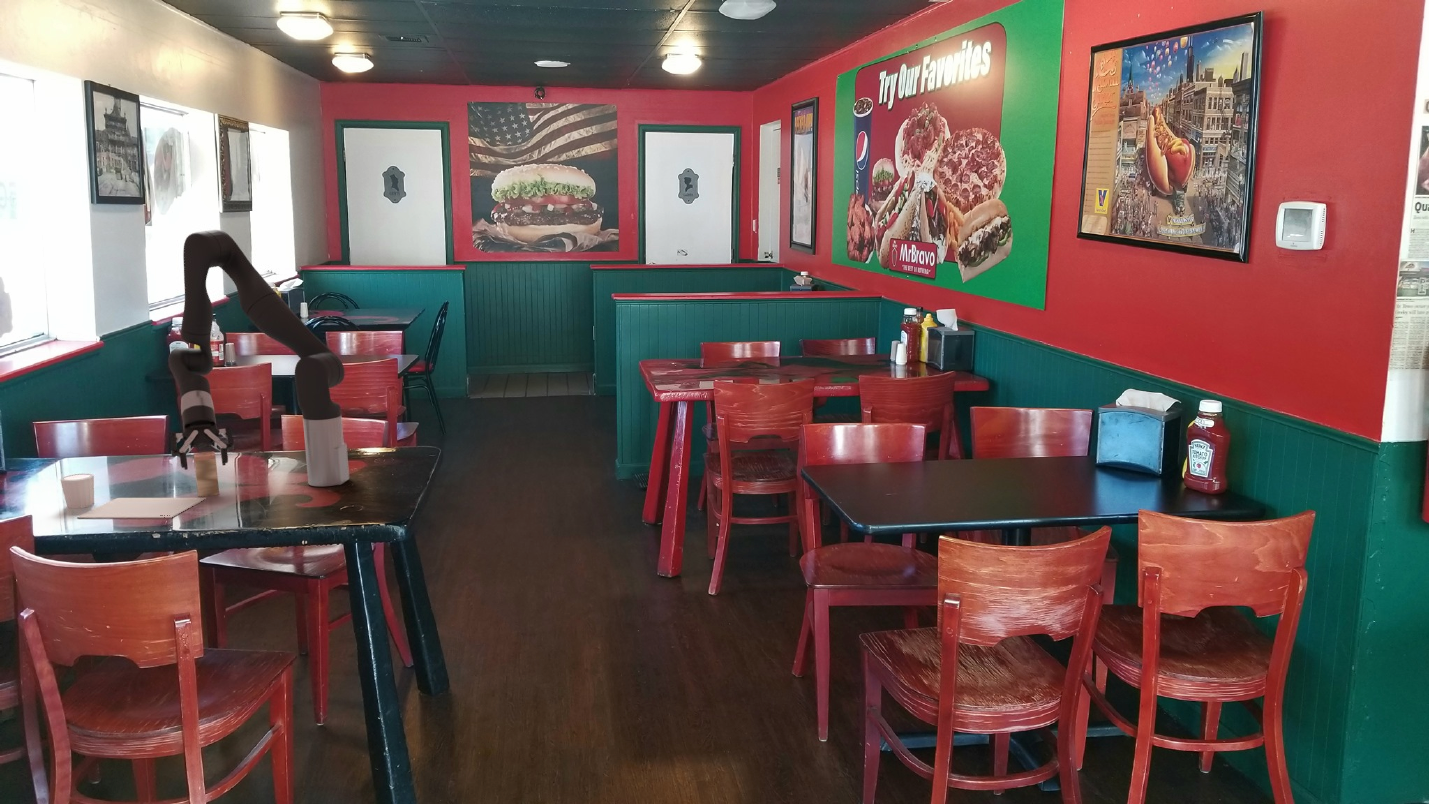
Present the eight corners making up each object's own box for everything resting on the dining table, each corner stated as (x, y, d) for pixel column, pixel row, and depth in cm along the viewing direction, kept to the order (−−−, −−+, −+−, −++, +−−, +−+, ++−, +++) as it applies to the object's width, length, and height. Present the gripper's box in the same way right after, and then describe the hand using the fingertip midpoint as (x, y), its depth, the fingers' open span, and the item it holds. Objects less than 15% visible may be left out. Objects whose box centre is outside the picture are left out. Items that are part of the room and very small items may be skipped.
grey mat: (206, 498, 258) (206, 497, 258) (171, 518, 242) (171, 517, 242) (117, 499, 258) (117, 497, 258) (77, 518, 243) (76, 517, 243)
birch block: (217, 489, 266) (214, 451, 264) (219, 494, 262) (215, 455, 260) (197, 492, 264) (193, 453, 262) (198, 496, 260) (194, 457, 258)
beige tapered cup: (81, 509, 250) (78, 481, 248) (57, 508, 251) (53, 479, 250) (103, 501, 256) (100, 473, 255) (79, 500, 258) (75, 472, 256)
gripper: (166, 406, 264) (172, 461, 257) (228, 401, 271) (236, 454, 263) (167, 423, 270) (173, 477, 262) (228, 418, 277) (236, 470, 269)
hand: (205, 465), depth 263 cm, fingers open, 8 cm apart
